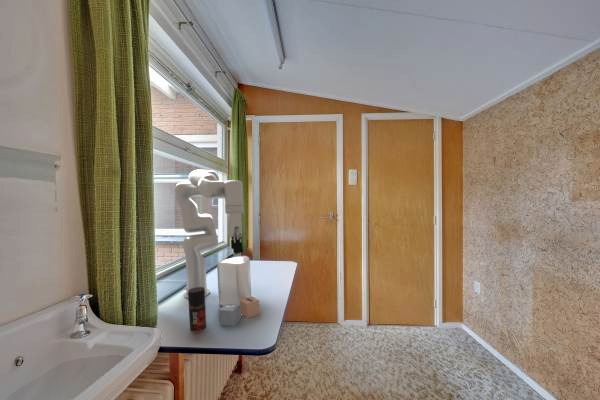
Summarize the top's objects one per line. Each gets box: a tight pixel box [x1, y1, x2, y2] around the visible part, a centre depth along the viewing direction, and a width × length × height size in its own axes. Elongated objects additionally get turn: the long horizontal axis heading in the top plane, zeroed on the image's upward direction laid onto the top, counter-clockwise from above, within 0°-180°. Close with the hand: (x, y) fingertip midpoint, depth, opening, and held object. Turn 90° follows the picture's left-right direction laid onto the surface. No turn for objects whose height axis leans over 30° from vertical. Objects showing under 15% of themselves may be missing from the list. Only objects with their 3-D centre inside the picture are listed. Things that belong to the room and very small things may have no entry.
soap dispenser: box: [216, 255, 252, 307], centre depth 126 cm, size 15×14×22 cm
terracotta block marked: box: [240, 295, 261, 319], centre depth 114 cm, size 6×6×6 cm
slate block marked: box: [218, 304, 241, 327], centre depth 107 cm, size 6×6×6 cm
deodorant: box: [188, 287, 207, 333], centre depth 103 cm, size 6×6×15 cm
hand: (236, 250), depth 111 cm, fingers open, 9 cm apart
